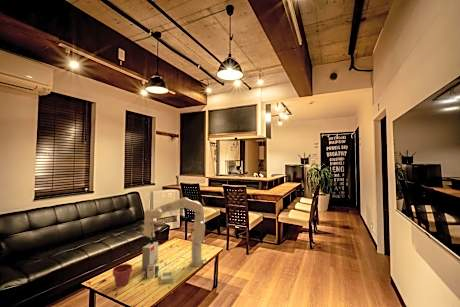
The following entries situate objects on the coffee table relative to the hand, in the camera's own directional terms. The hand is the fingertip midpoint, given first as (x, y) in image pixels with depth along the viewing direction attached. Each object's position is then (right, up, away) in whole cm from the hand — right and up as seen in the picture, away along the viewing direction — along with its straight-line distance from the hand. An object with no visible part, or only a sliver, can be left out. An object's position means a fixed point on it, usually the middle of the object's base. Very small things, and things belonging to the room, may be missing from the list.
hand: (148, 242), depth 198 cm
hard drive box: (-2, -26, +10) cm, 28 cm away
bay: (+5, -26, -6) cm, 27 cm away
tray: (+21, -25, -13) cm, 35 cm away
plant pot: (-14, -25, -20) cm, 35 cm away
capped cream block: (+5, -26, -7) cm, 27 cm away
